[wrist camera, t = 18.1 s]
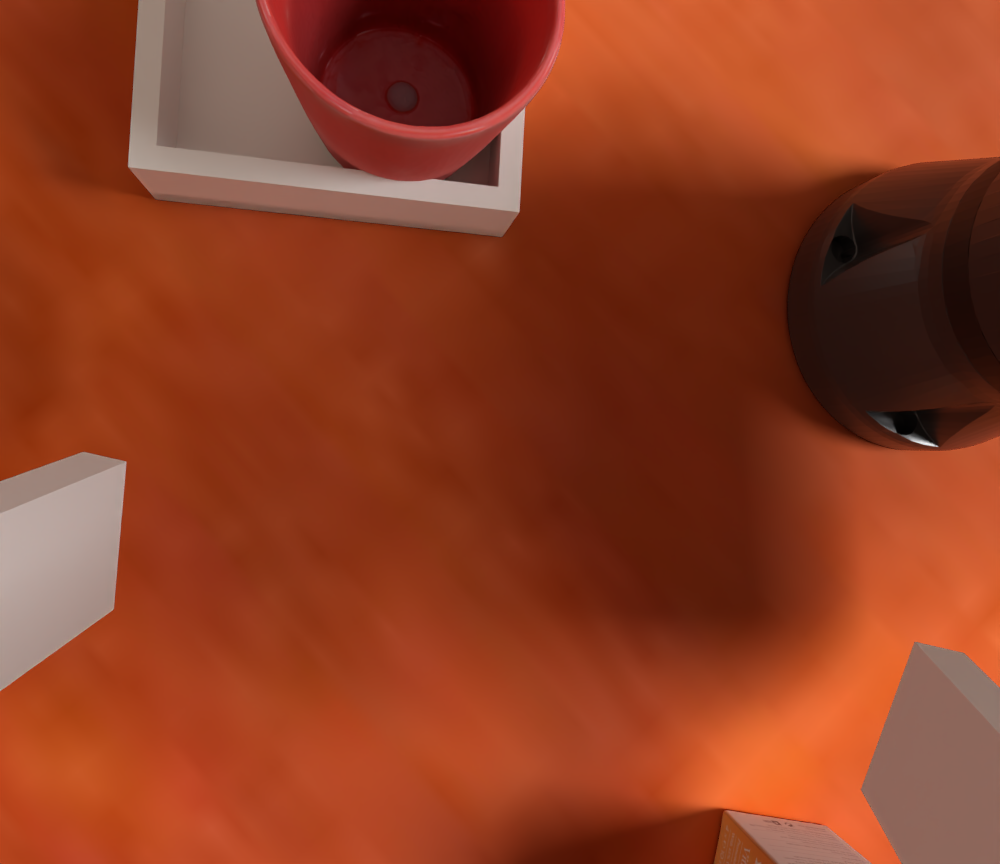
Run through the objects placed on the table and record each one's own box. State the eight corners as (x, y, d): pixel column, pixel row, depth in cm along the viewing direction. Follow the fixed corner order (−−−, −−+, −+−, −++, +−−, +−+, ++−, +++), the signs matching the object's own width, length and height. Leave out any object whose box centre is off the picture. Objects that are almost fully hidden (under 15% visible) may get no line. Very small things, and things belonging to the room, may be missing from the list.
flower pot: (489, -13, 35) (537, -187, 25) (528, 212, 35) (591, 123, 26) (262, -1, 33) (222, -184, 23) (304, 238, 33) (281, 152, 24)
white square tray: (177, -148, 33) (153, -227, 29) (519, -82, 36) (538, -146, 32) (155, 199, 33) (128, 167, 29) (502, 236, 36) (519, 212, 32)
